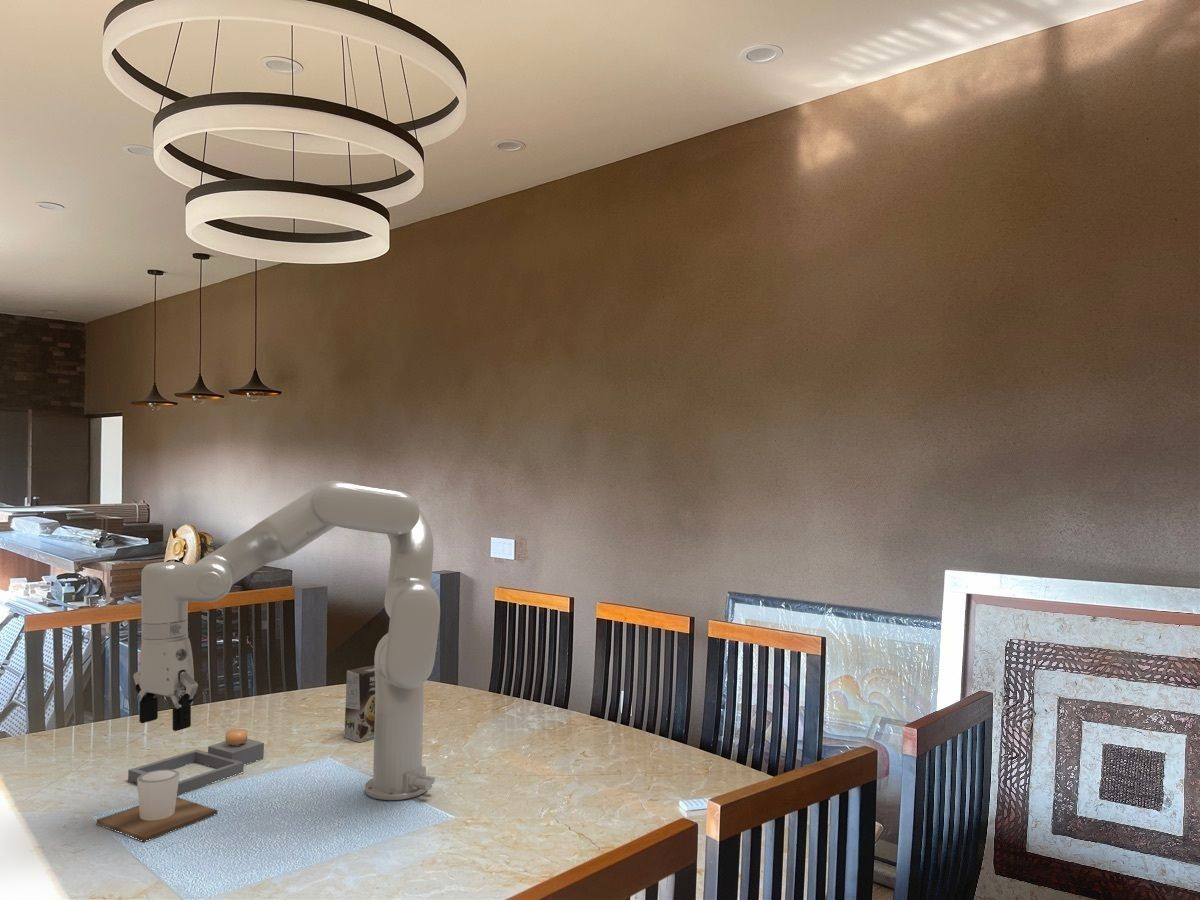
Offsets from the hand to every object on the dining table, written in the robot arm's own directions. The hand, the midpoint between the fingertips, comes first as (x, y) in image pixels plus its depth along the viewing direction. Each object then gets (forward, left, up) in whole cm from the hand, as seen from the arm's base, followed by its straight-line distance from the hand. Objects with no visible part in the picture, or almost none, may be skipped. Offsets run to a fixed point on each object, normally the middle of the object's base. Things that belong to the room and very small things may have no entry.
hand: (164, 724), depth 155 cm
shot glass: (+1, 0, -16) cm, 16 cm away
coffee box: (+4, -55, -17) cm, 58 cm away
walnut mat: (0, +1, -17) cm, 17 cm away
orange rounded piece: (+15, -27, -15) cm, 35 cm away
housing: (+15, -19, -17) cm, 30 cm away
